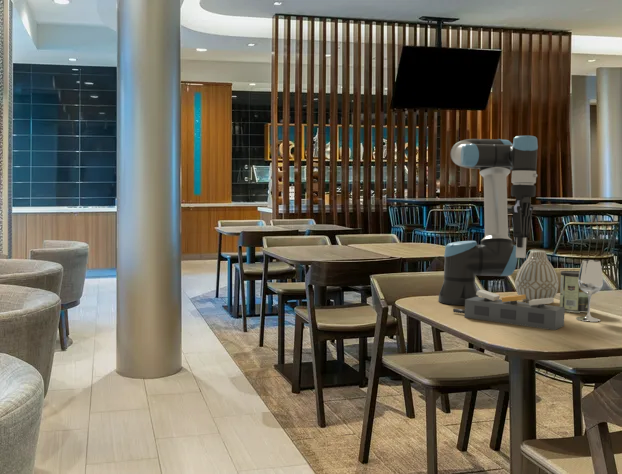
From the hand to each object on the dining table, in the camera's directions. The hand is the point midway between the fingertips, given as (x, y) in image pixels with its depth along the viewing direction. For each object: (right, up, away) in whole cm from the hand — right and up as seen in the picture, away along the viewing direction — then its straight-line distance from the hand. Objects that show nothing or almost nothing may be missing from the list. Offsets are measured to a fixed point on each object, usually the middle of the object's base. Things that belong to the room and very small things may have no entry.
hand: (520, 257), depth 218 cm
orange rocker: (-1, -14, +2) cm, 14 cm away
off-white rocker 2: (+6, -14, -3) cm, 16 cm away
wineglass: (+25, -21, +9) cm, 34 cm away
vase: (+19, -19, +43) cm, 51 cm away
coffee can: (+27, -20, +26) cm, 43 cm away
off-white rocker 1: (-9, -13, +8) cm, 17 cm away
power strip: (-4, -21, +5) cm, 22 cm away
